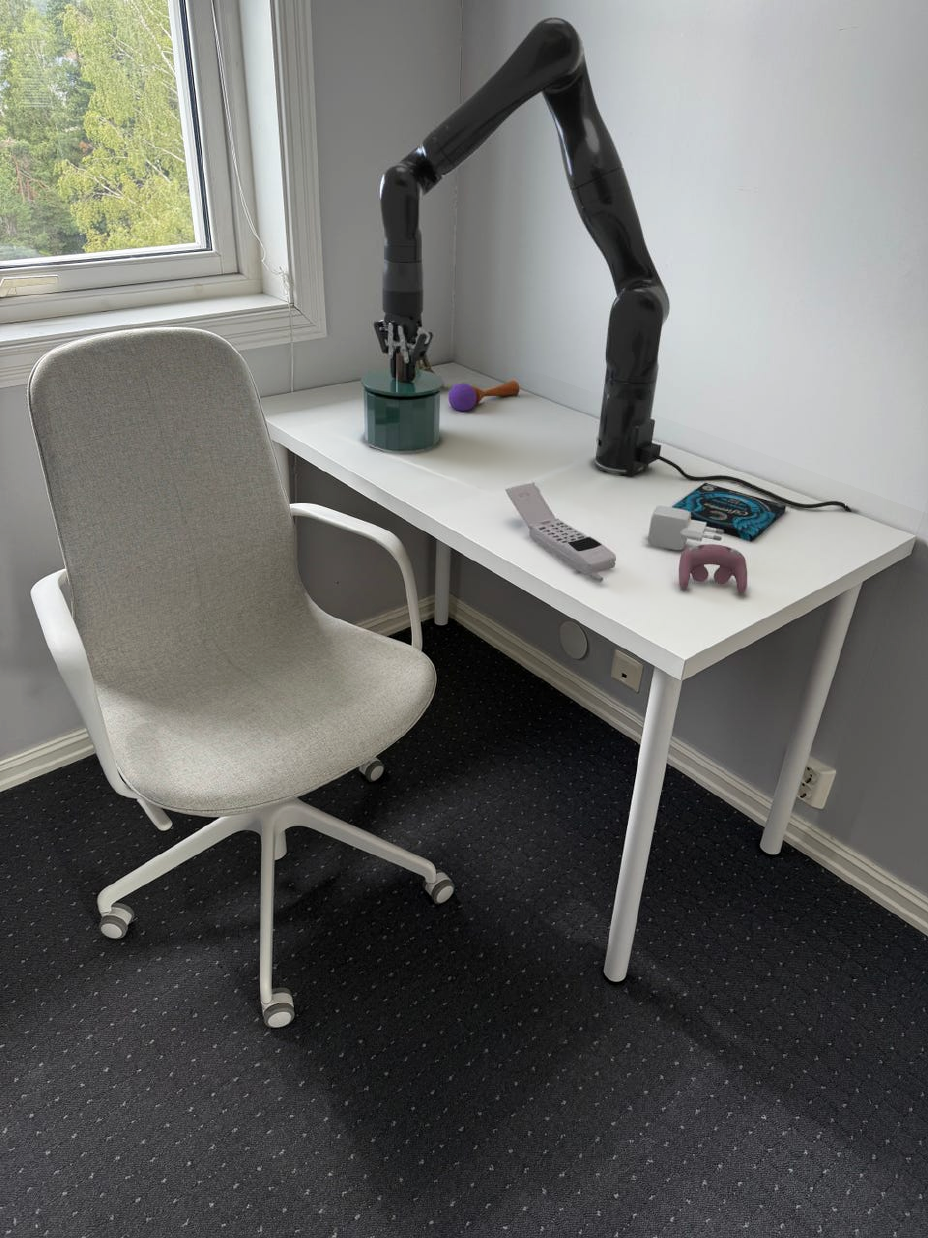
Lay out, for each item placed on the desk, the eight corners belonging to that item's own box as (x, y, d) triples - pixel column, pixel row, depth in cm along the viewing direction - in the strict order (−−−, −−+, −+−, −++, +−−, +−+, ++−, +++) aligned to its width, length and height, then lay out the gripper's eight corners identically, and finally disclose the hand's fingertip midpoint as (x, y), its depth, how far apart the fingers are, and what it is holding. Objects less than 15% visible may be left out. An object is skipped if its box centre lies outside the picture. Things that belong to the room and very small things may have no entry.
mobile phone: (532, 481, 151) (631, 540, 132) (530, 513, 154) (626, 576, 136) (502, 488, 148) (598, 550, 130) (500, 521, 151) (594, 586, 133)
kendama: (526, 381, 204) (465, 392, 191) (519, 405, 207) (459, 418, 194) (507, 370, 207) (446, 380, 193) (501, 394, 210) (440, 406, 197)
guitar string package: (786, 505, 157) (753, 534, 147) (784, 512, 158) (752, 541, 148) (705, 482, 165) (668, 508, 154) (704, 489, 166) (667, 515, 155)
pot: (454, 440, 182) (456, 388, 176) (402, 459, 172) (402, 405, 167) (401, 422, 190) (401, 371, 184) (349, 439, 180) (348, 387, 174)
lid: (460, 387, 176) (461, 354, 173) (403, 405, 166) (403, 371, 163) (402, 369, 185) (402, 338, 182) (344, 385, 174) (343, 352, 171)
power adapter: (720, 548, 145) (727, 514, 142) (716, 561, 141) (723, 527, 138) (651, 534, 148) (656, 501, 145) (645, 547, 145) (650, 513, 141)
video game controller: (741, 593, 136) (745, 546, 135) (748, 595, 131) (753, 546, 131) (674, 588, 136) (678, 541, 136) (679, 589, 132) (683, 541, 131)
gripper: (445, 289, 164) (442, 383, 173) (390, 276, 172) (390, 367, 181) (416, 294, 159) (415, 392, 168) (361, 281, 167) (363, 375, 176)
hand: (402, 378), depth 175 cm, fingers closed on lid, 2 cm apart
